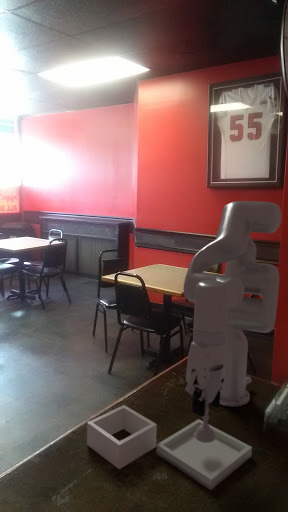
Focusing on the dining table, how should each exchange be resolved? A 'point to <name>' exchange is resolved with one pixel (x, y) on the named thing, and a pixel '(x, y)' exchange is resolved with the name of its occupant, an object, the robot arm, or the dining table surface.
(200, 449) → the tray
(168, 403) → the dining table surface
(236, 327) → the robot arm
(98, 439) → the sleeve
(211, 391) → the chalice
